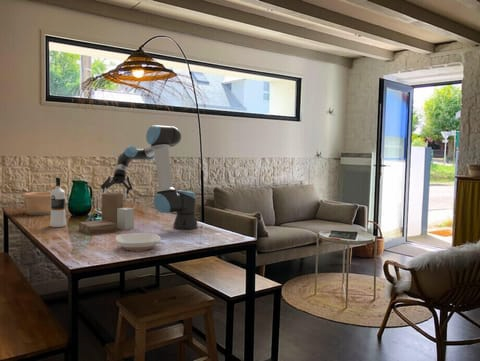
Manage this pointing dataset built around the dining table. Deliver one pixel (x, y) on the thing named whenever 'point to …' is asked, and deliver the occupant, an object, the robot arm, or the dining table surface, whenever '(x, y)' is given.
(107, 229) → the plinth
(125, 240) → the bowl
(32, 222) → the dining table surface
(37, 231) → the dining table surface
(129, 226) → the white canister
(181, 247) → the dining table surface
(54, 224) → the vodka
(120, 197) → the block
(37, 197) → the pottery
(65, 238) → the dining table surface
